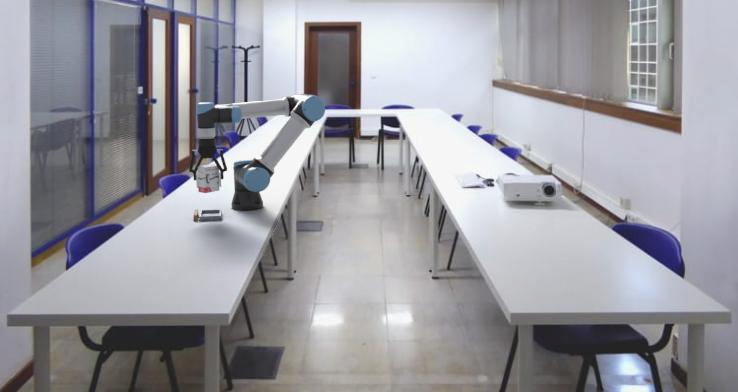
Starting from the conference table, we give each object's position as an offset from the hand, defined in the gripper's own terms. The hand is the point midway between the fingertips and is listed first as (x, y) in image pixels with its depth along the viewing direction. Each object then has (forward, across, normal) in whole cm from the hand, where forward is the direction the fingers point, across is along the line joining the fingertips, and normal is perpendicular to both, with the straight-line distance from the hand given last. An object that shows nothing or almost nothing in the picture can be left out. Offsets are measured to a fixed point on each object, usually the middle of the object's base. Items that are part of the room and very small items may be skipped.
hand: (209, 186), depth 321 cm
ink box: (+2, 0, 0) cm, 2 cm away
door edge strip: (+14, -6, 0) cm, 15 cm away
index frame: (+14, 0, 0) cm, 14 cm away
